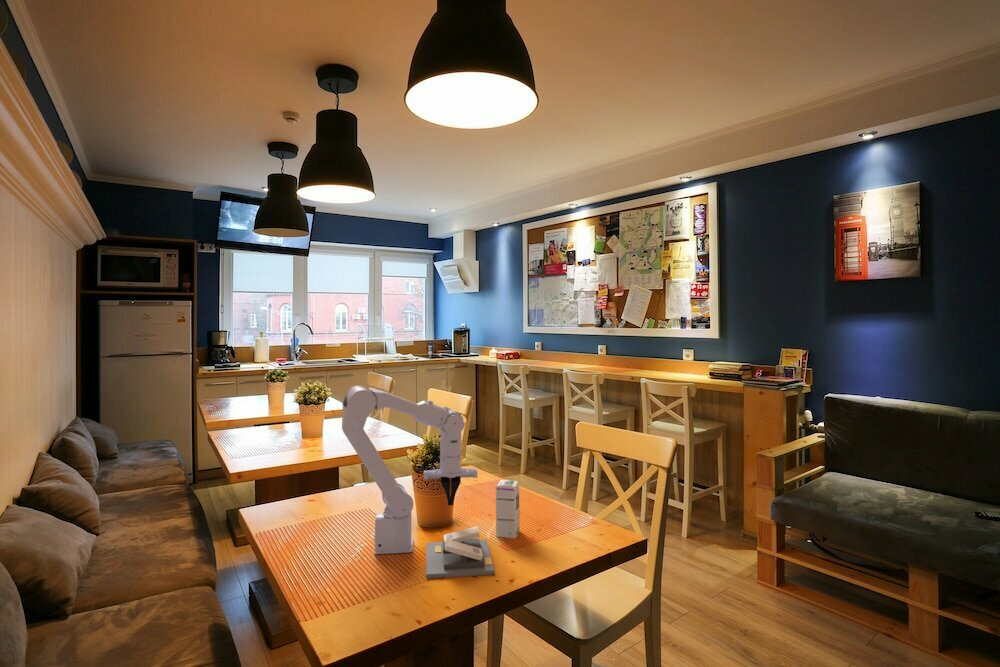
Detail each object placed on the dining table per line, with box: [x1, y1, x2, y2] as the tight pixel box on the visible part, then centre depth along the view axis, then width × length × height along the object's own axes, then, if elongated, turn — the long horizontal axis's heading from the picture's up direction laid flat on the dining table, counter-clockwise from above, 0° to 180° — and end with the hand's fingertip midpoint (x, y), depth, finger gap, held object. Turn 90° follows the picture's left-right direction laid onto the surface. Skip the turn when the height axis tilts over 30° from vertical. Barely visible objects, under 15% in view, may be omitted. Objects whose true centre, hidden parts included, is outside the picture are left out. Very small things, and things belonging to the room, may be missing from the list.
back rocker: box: [443, 525, 481, 543], centre depth 135 cm, size 9×4×1 cm, turn 97°
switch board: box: [425, 537, 496, 580], centre depth 131 cm, size 16×17×3 cm
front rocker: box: [445, 539, 483, 561], centre depth 127 cm, size 9×4×1 cm, turn 99°
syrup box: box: [495, 479, 521, 539], centre depth 147 cm, size 6×6×14 cm
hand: (450, 504), depth 143 cm, fingers closed
